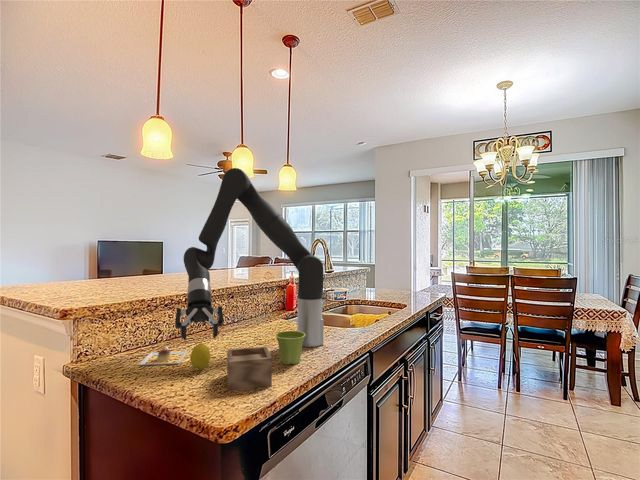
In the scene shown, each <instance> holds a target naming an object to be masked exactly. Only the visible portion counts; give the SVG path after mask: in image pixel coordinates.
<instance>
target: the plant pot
mask: <svg viewBox="0 0 640 480" xmlns="http://www.w3.org/2000/svg"><path fill="white" fill-rule="evenodd" d="M304 337H305V333H303V332H298V331H297V330H288V331H280V332H277V333H276V334H275V338H276V341H277V343H278V350H279V351H278V352H279V358H280V360H279V361H280V362H281V364H283V365H298V364H299V363H300V362H301V357H302V356H301V355H302V349H303V346H302V343H303V340H304Z"/></svg>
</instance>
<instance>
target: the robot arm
mask: <svg viewBox="0 0 640 480" xmlns="http://www.w3.org/2000/svg"><path fill="white" fill-rule="evenodd" d="M220 183H221V184H220V187H219V189H218V190H219V191H218V194H217V195H216V196H217V197H216V199H215V202H214V204H213V206H212V209H211V211H210V213H209V215H208V217H207V219H206V221H205V223H204V224H203V228H202V229H201V231H200V233H199V236H198V240H199V242H200V243H201V244H203V245H205V246H206V250H204V249H201V248H198V247H195V246H191V247H188V248H187V249H186V250H185V252H184V254H183V264H184V268H185V271H186V273H187V276H188V280H187V281H188V283H187V284H188V286H187V297H186V298H187V299H186V300H187V303H186V305H187V306H186V309H182V308H179V307H177V309H176V312H175V319H174V320H175V321H174V328H175V329H180V331H181V333H180V334H181V335H180V337H181V339H183V341H187V328H188V327H189V326H191V324H193V323H206V322H207V323H208V324H209V325H211V326H212V338H213V339H216V337H218V335H219V328H218V327H222V326H223V325H224V314H223V308H222V305H219V306H217V307H215V308H213V305H212V288H211V279H210V278H211V276H210V271H209V270H210V269H211V268H212V267H213V265H214V262H215V257H216V251H217V248H218V247H217V246H218V244H219V241H220V239H221V237H222V234H223V233H224V231H225V228H226V225H227V223H228V221H229V220H228V219H229V216H230V214H231V211H232V208H233V206H234V204H235V202H236V201H237V200H238V201H239V202H240V203H241V205H243V206H244V207H245V208H246V209H247V211H248V212H249V214H250V215H251V217H252V219H253V220H254V222H255V223H256V225H257V227H259V229H260V230H261V231H262V232H263V234H264V235H265V236H266V237H267V238H268V239H269V240H270V241H271V242H272V243H273V244H274V245H275V246H276V247H277V248H278V249H279V250H280V251H282V252H283V253H284V255H286V256H287V258H288V259H289V260H290V262H291V263H292V265H293V266H294V267H295V269H296V270H297V272H298V286H297V287H298V288H297V324H296V325H297V326H296V327H297V330H296V331H298V332H303V333H305V337H304V340H303V343H302V348H303V347H304V348H305V347H306V348H316V347H319V346H323V345H324V326H325V325H324V321H325V319H324V318H323V292H324V271H325V270H324V264H323V261H322V260H321V259H320V258H319V257H317V256H315V255H314V254H313V253H311V252H310V251H309V250H308V249H307V248H306V247H305V246H304V245H303V244H302V242H301V241H300V239H299V238H298V237H297V235H296V233H295V232H294V230H293V228H292V227H291V225H290V224H289V223H288V222H287V220H286V219H285V218H284V217H283V215H282V214H281V213H280V212H279V211H278V210H277V209H276V208H275V207H274V206H273V205H272V204H270V202H268V201H267V200H266V199H265V198H264V197H263V196H262V195H261V194H260V193H259V191H258V190H257V189H256V187H255V186H254V184H253V183H252V182H251V180H250V178H249V176H248V175H247V173H245V171H244V170H242V169H240V168H236V167H234V168H229V169H228V170H227V171H225V172H224V174H223V176H222V181H221V182H220ZM213 314H215V315H216V316H217V319H218V320H217V319H216V318H215V317H214V315H213ZM184 315H186V318H185V319H184V320H183V321H182V322H181V318H182V317H184Z"/></svg>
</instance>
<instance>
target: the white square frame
mask: <svg viewBox="0 0 640 480" xmlns="http://www.w3.org/2000/svg"><path fill="white" fill-rule="evenodd" d="M187 353H188V351H186V350H185V351H184V350H182V351H170V349H169V347H168V346H166V345H165V346H164V347H163V348H162V349H161V350H158V352H157V351H155V352H149V353H148V354H147V355H146V356H145V357H144V358H143V359H142V360H141V361H140V362H139V363H138V364H137V366H140V367H141V366H163V365H166V366H167V365H178V364H180V363H181V362H182V360H183V358H184V357H185V356H186V354H187ZM171 354H175V355H181V356H180V357H179V358H178V360H176V361H177V362H168V360H169V361H171V360H172V359H173V358H172V355H171ZM153 356H157V357H156V360H157V362H160V363H147V362H148V361H149V360H150V359H151V358H153ZM149 358H150V359H149ZM148 359H149V360H148ZM163 361H164V362H163ZM162 362H163V363H162Z"/></svg>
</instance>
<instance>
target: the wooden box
mask: <svg viewBox="0 0 640 480" xmlns="http://www.w3.org/2000/svg"><path fill="white" fill-rule="evenodd" d="M226 357H227V361H226V362H227V366H226V369H227V371H226V377H227V390H228V391H229V392H230V391H239V390H249V389H258V388H266V387H272V385H273V384H272V383H273V382H272V381H273V376H272V375H273V358H272V355H271V353H270V351H269V349H268V347H267V346H258V347H257V346H255V347H242V348H241V347H240V348H231V349H230V348H229V349H227V356H226Z"/></svg>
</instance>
